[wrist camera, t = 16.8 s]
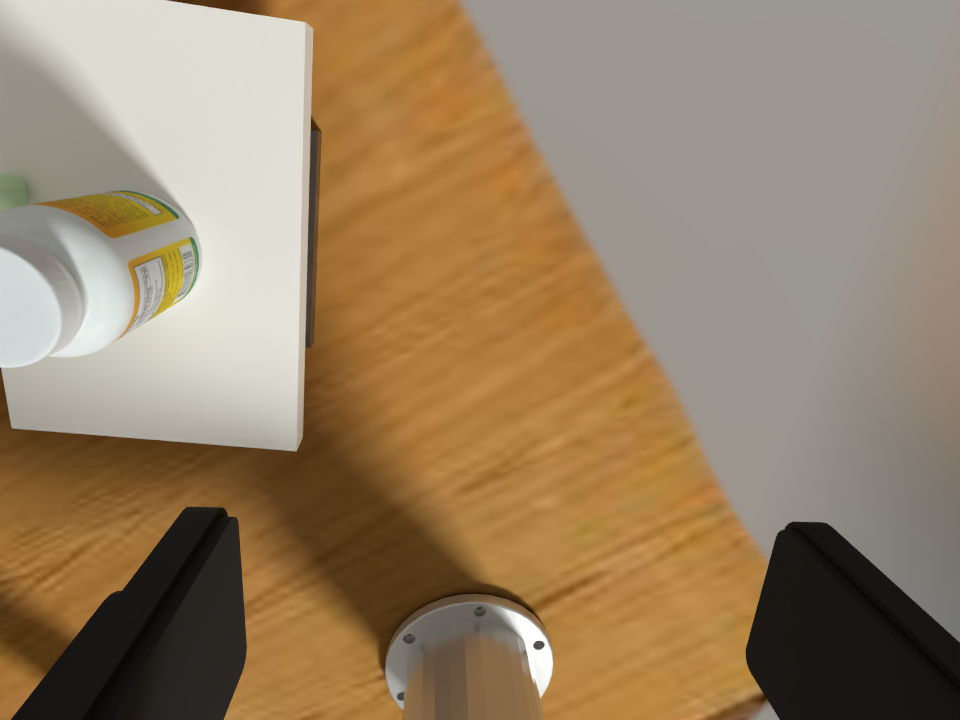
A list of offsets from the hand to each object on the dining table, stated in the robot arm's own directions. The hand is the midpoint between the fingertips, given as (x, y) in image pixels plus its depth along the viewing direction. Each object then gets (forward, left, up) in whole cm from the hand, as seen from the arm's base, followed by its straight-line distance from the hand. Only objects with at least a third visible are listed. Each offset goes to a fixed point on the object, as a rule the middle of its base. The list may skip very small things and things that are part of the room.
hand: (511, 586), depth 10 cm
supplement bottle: (+1, +15, -20) cm, 25 cm away
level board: (+1, +15, -21) cm, 26 cm away
